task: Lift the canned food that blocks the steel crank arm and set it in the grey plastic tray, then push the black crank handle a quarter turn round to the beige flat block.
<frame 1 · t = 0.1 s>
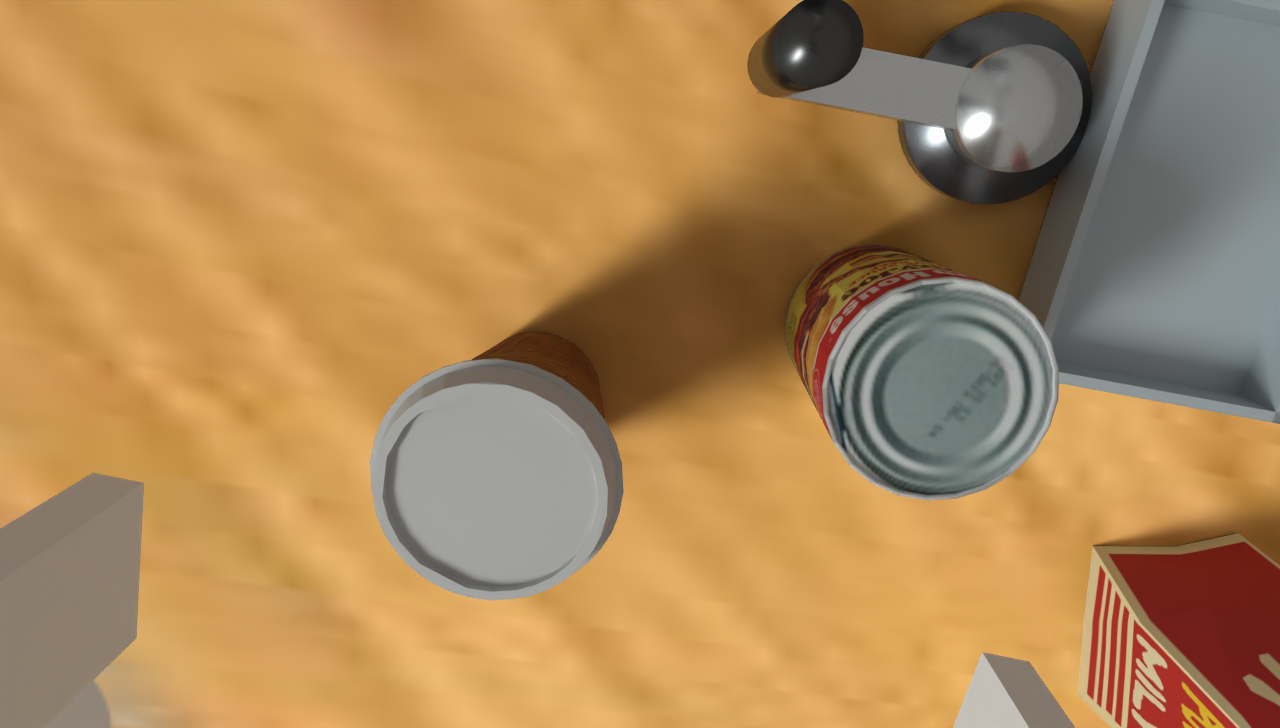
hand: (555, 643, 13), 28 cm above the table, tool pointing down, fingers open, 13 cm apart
tray: (1181, 207, 38), on the table
crank base: (987, 111, 37), on the table
disposable coffee cup: (537, 391, 41), on the table
milk carton: (1165, 612, 44), on the table
canned food: (866, 326, 40), on the table, touching beige flat block
crank: (941, 85, 30), point 7 cm above the table, hinge at -90.0°
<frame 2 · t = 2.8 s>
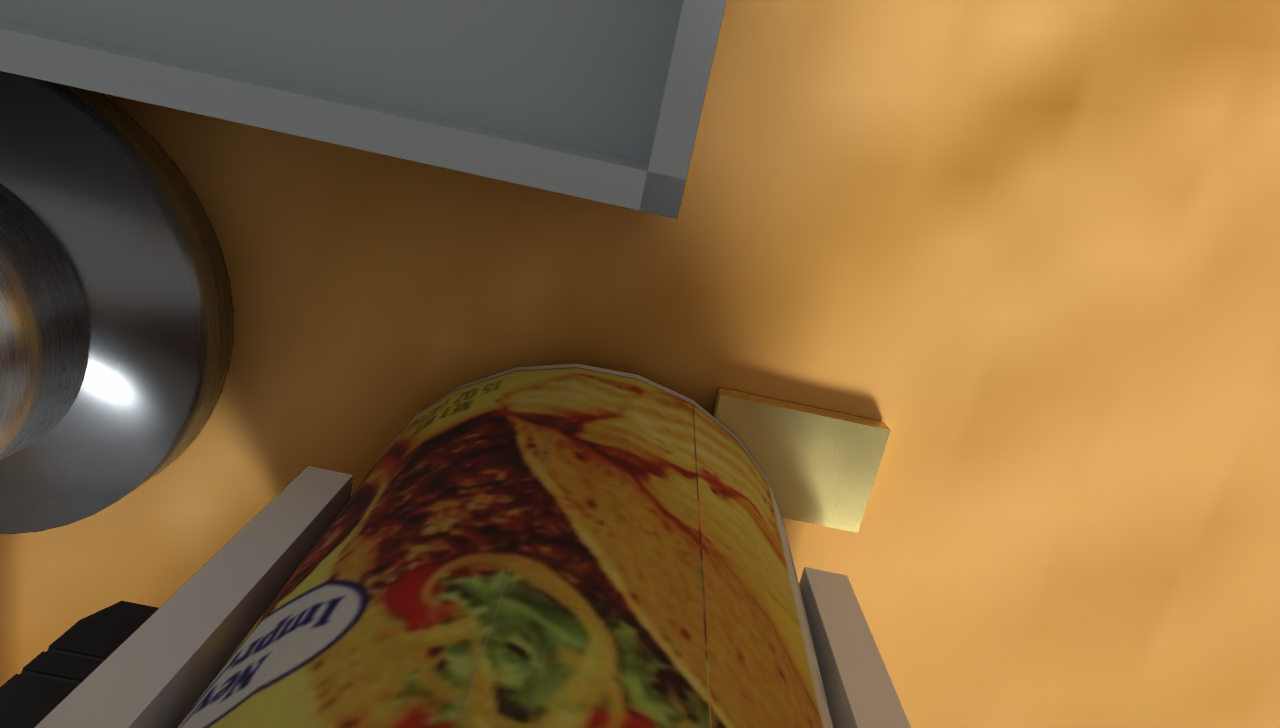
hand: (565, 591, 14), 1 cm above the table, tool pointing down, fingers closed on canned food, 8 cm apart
beige flat block: (787, 456, 15), on the table
crank base: (3, 292, 14), on the table
canned food: (573, 556, 15), on the table, touching gripper
when the fingers open (3 cm above the table, at t = 8.4 s): canned food drops 2 cm, resting on tray.
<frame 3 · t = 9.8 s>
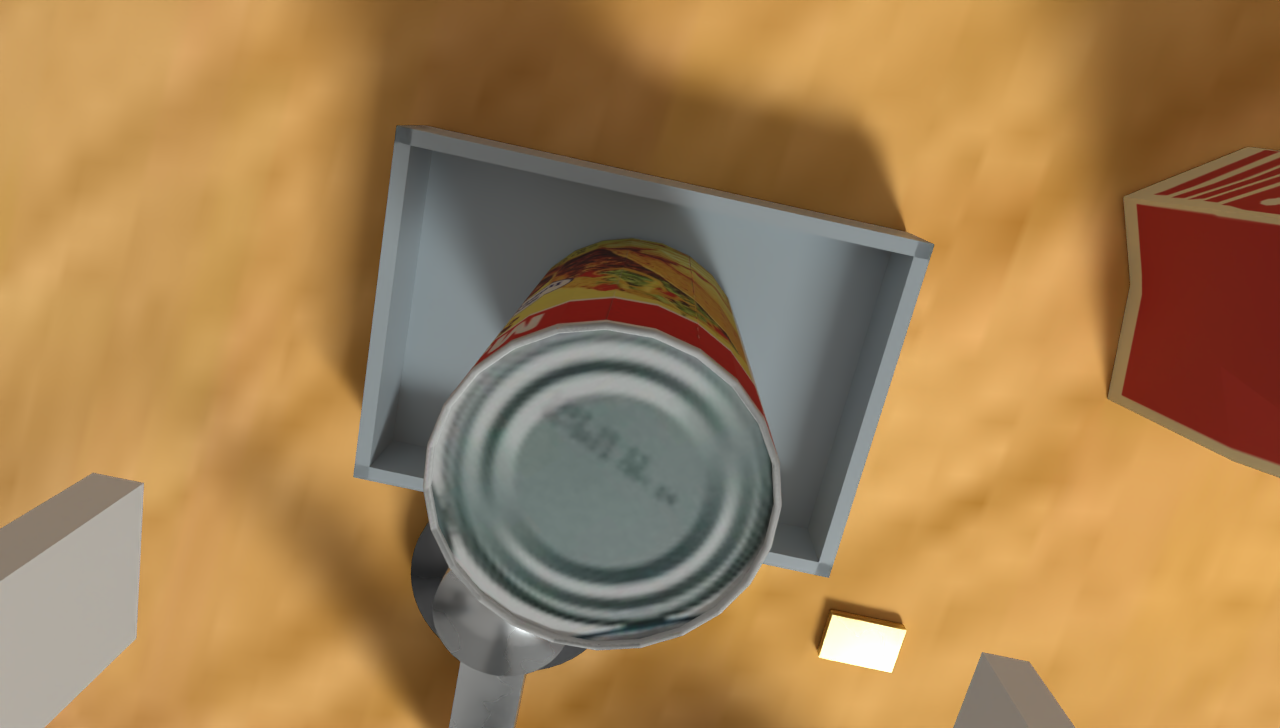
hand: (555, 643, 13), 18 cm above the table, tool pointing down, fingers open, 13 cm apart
beige flat block: (860, 637, 33), on the table
tray: (632, 343, 30), on the table
crank base: (519, 566, 33), on the table
milk carton: (1246, 276, 29), on the table
canned food: (629, 345, 29), resting on tray
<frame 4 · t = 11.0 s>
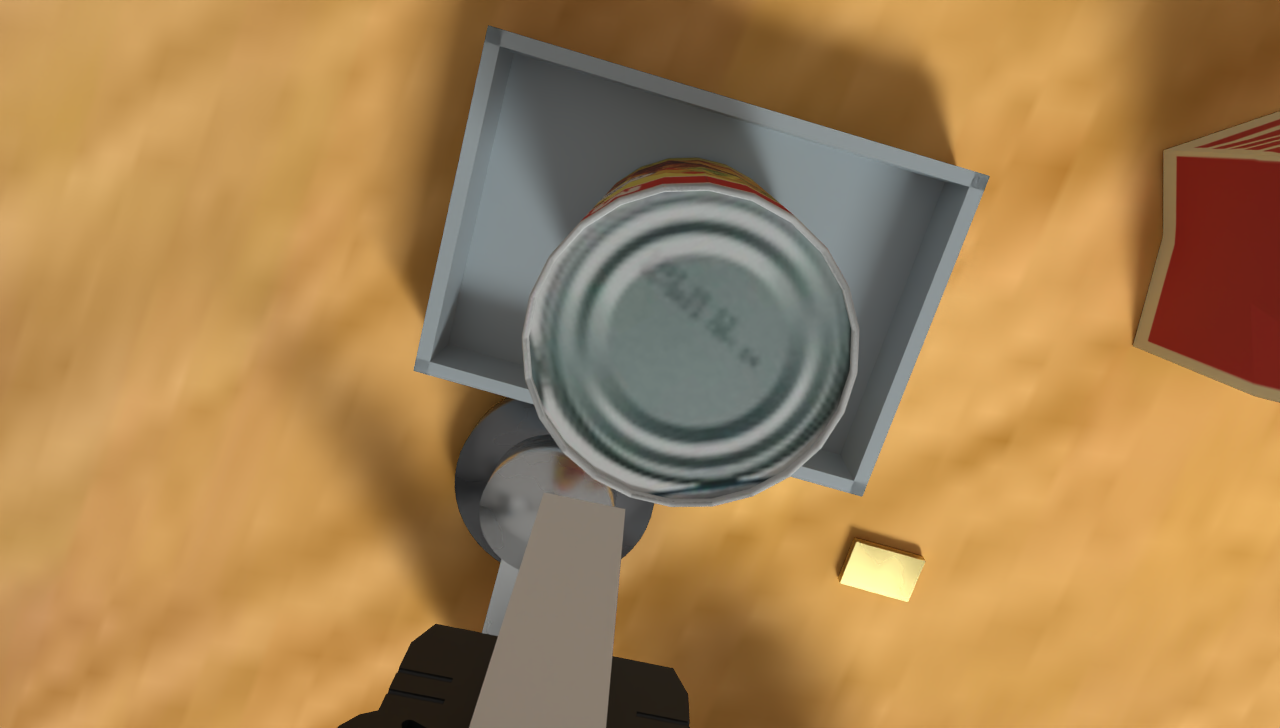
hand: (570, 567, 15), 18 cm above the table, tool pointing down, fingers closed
beige flat block: (880, 567, 34), on the table
tray: (686, 263, 31), on the table
crank base: (558, 478, 34), on the table
milk carton: (1271, 236, 30), on the table
canned food: (684, 264, 31), resting on tray
crank: (501, 669, 28), point 7 cm above the table, hinge at -90.0°
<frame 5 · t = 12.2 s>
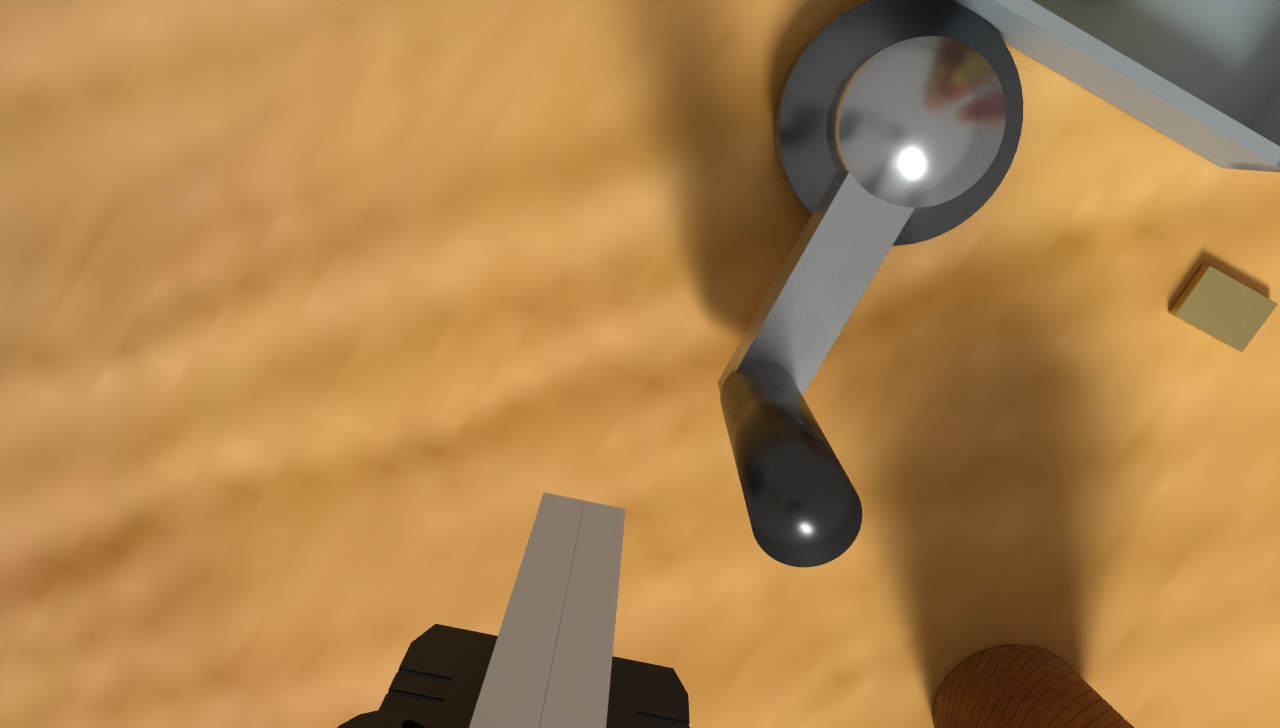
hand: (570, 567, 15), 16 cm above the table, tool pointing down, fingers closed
beige flat block: (1219, 307, 30), on the table
crank base: (890, 124, 28), on the table
disposable coffee cup: (1005, 705, 35), on the table
crank: (874, 270, 23), point 7 cm above the table, hinge at -90.0°
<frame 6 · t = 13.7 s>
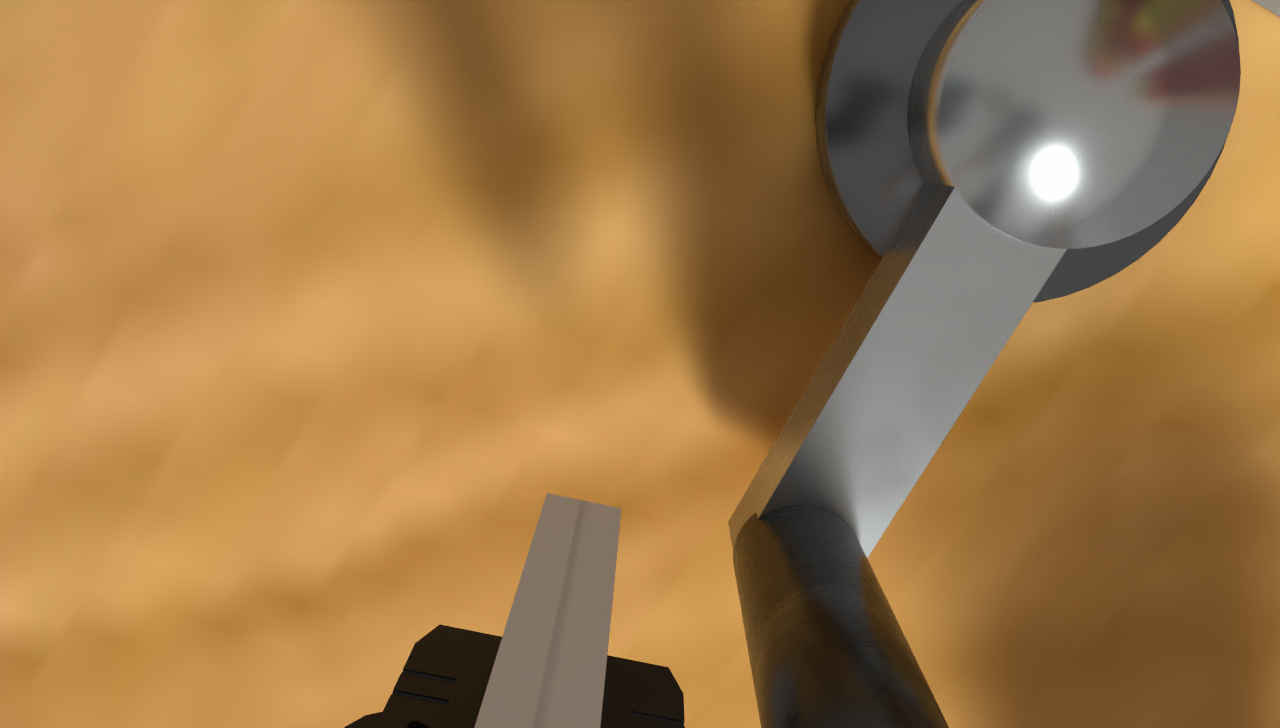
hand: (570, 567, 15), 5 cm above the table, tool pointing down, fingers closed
crank base: (1005, 107, 17), on the table
crank: (1024, 378, 12), point 7 cm above the table, hinge at -89.3°, touching gripper
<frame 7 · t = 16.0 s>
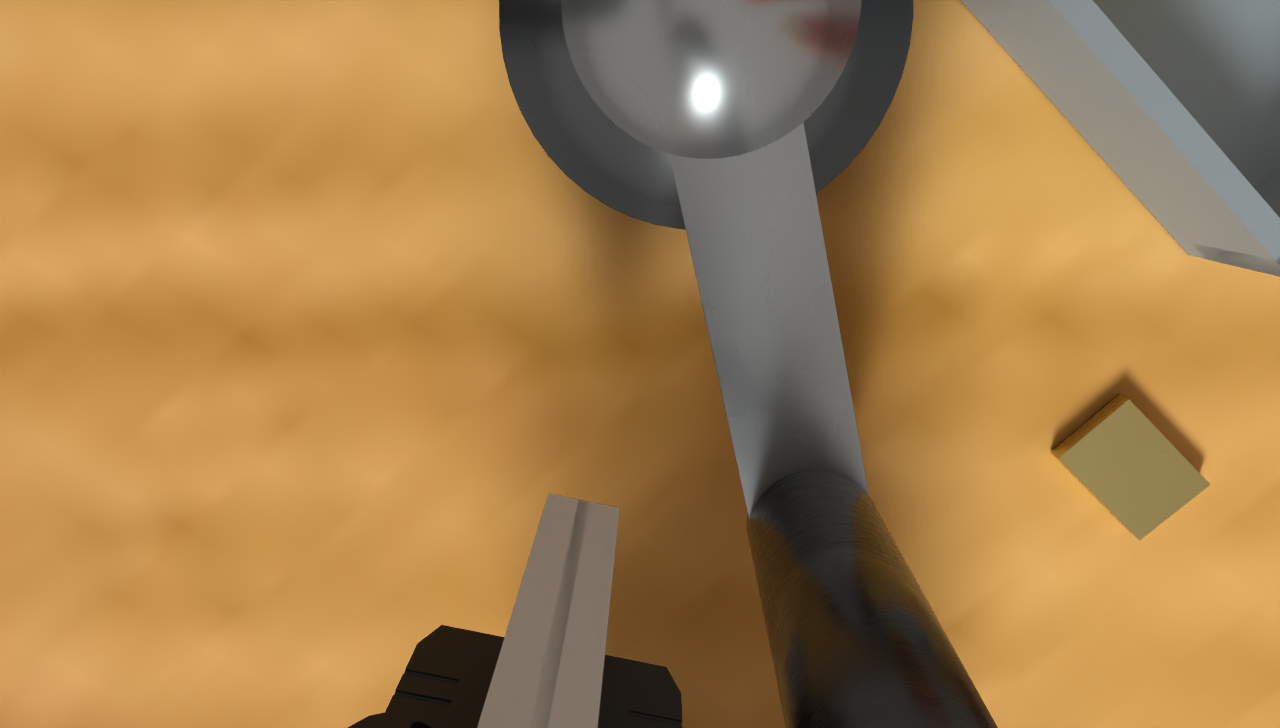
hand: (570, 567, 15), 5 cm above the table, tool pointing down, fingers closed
beige flat block: (1125, 464, 19), on the table
crank base: (701, 29, 17), on the table
crank: (785, 295, 12), point 7 cm above the table, hinge at -33.3°, touching gripper
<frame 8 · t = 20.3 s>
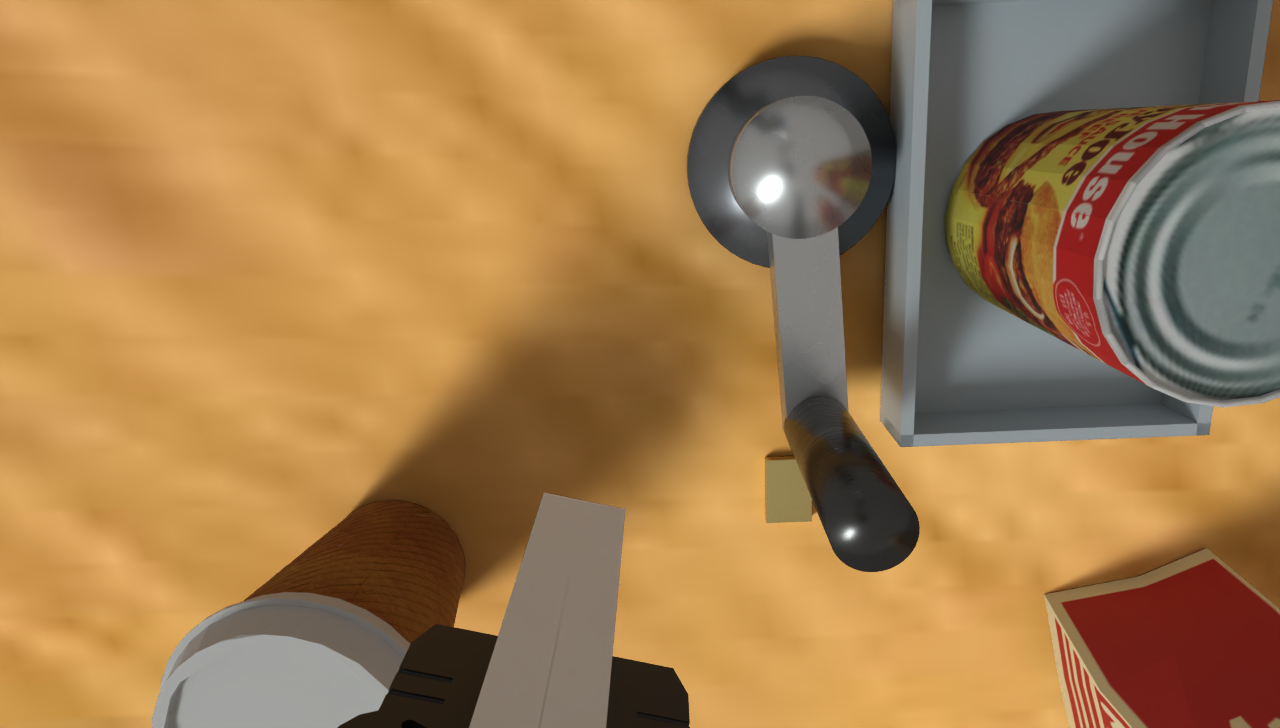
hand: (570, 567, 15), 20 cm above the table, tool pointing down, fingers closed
beige flat block: (787, 487, 36), on the table
tray: (1036, 215, 33), on the table
crank base: (787, 165, 33), on the table
disposable coffee cup: (399, 559, 38), on the table
milk carton: (1149, 647, 39), on the table
canned food: (1041, 214, 33), resting on tray
crank: (827, 307, 27), point 7 cm above the table, hinge at 4.1°
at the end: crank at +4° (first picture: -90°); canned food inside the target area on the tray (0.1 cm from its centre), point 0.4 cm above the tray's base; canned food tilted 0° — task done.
